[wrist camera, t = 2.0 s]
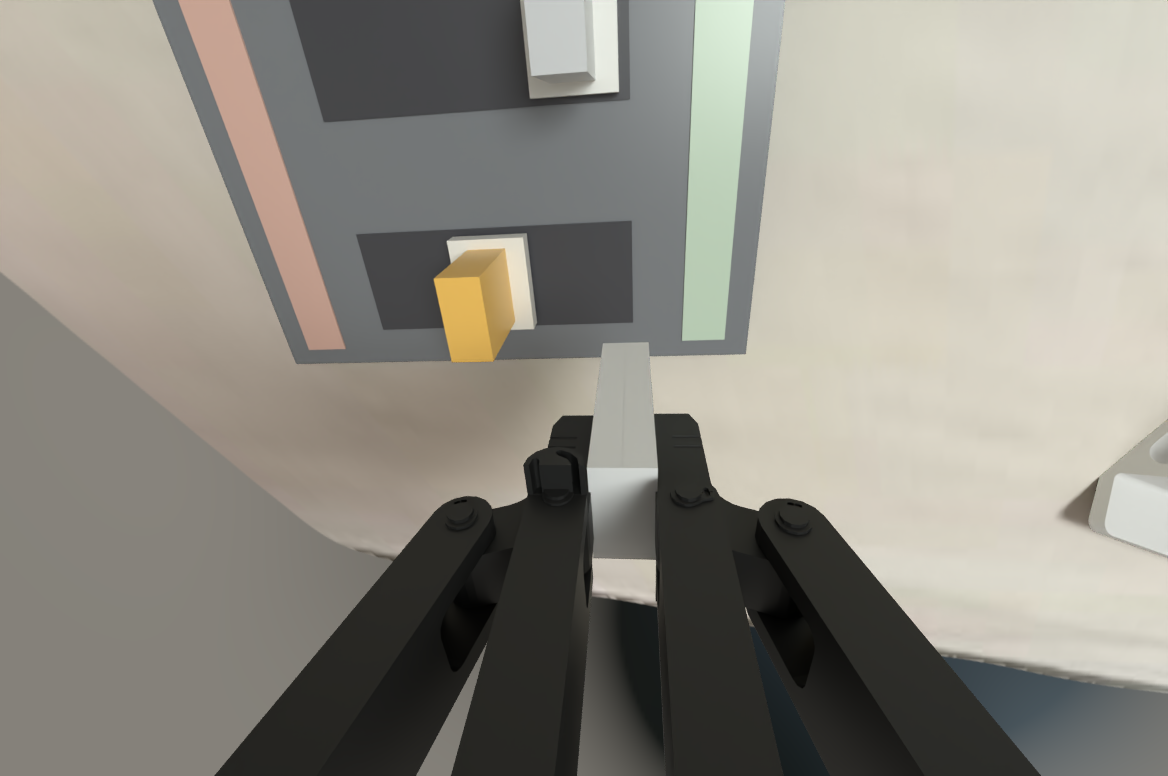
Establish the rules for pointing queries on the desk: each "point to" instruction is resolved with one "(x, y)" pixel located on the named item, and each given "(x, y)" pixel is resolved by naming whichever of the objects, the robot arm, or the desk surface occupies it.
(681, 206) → the breaker panel
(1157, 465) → the tablet stand
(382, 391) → the desk surface
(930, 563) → the desk surface
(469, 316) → the breaker handle
